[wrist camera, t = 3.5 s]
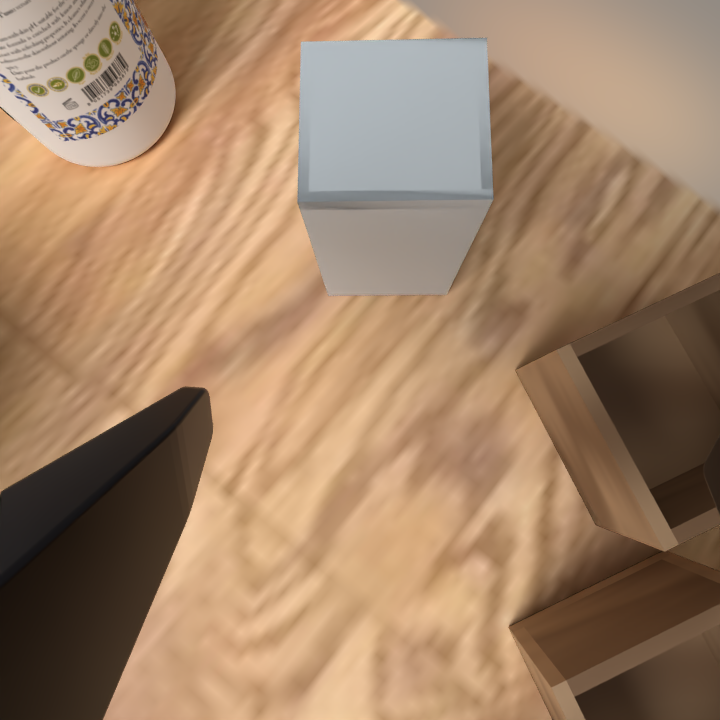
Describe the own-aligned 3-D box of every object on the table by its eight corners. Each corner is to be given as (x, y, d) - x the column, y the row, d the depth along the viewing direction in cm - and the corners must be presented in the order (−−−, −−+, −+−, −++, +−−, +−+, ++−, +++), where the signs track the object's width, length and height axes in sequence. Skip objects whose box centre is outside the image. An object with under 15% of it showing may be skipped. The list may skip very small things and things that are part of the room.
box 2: (758, 725, 19) (889, 822, 14) (594, 808, 19) (671, 937, 14) (664, 550, 20) (756, 585, 16) (508, 627, 20) (551, 687, 15)
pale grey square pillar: (446, 294, 22) (493, 199, 13) (328, 295, 23) (297, 201, 14) (443, 192, 23) (486, 38, 14) (329, 193, 23) (301, 41, 14)
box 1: (746, 451, 21) (861, 454, 16) (595, 524, 21) (664, 551, 16) (660, 301, 22) (742, 262, 17) (515, 370, 22) (556, 349, 17)
